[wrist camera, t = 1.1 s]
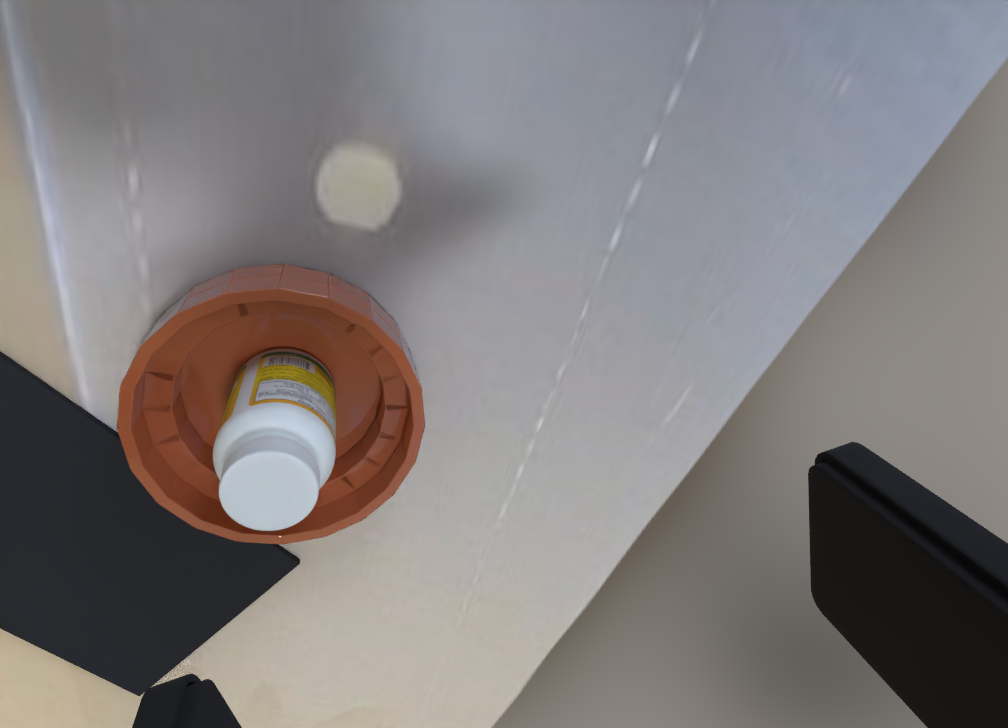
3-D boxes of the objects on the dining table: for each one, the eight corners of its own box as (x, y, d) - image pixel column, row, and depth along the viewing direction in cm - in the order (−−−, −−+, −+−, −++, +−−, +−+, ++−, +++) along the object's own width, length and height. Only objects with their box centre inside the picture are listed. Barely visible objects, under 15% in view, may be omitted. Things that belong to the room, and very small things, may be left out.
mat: (-198, 524, 33) (-204, 529, 32) (-6, 347, 31) (-9, 350, 31) (140, 691, 42) (139, 696, 42) (300, 559, 41) (299, 563, 40)
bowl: (80, 387, 33) (45, 430, 29) (283, 205, 32) (276, 224, 28) (287, 534, 40) (282, 586, 36) (463, 388, 38) (478, 425, 34)
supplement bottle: (300, 328, 34) (289, 413, 26) (354, 403, 37) (361, 503, 28) (211, 377, 34) (171, 480, 26) (271, 449, 37) (253, 564, 28)
